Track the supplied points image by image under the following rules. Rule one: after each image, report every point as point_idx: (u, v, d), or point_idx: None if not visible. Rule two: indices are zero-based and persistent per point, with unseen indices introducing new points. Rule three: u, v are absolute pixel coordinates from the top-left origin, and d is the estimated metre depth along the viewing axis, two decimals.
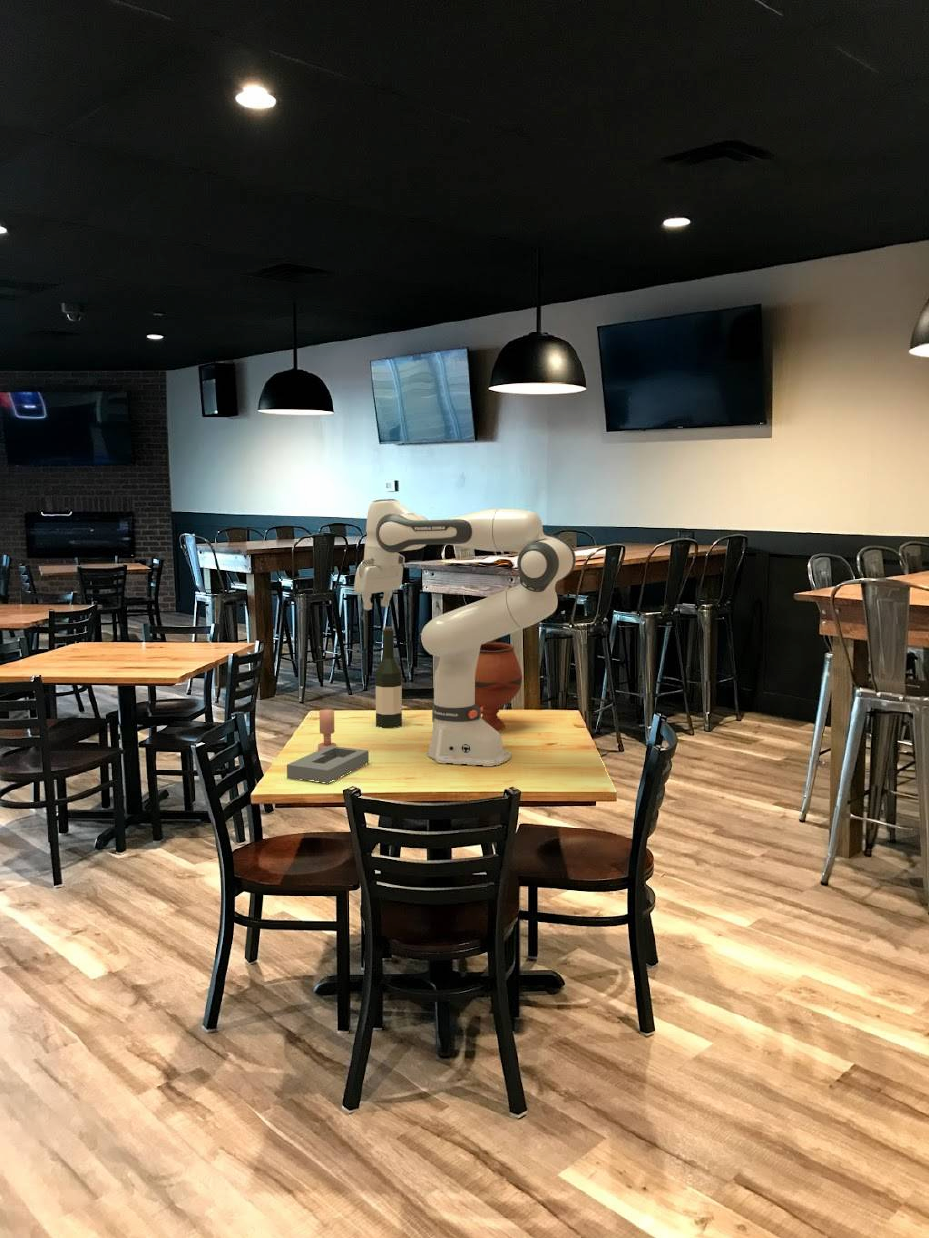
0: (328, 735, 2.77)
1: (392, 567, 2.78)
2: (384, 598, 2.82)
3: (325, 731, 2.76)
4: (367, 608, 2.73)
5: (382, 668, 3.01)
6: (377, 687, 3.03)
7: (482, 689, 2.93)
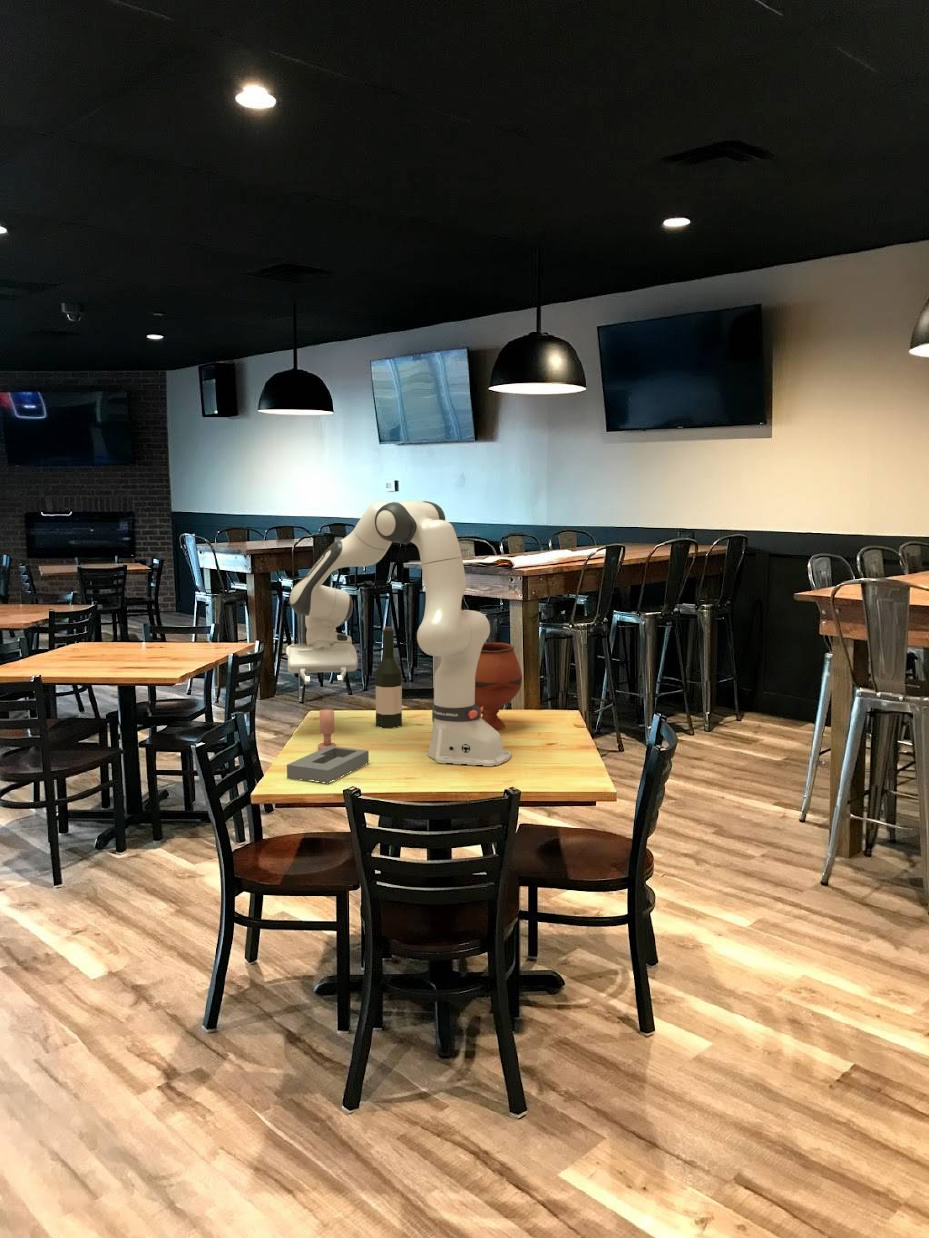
0: (328, 735, 2.77)
1: (333, 645, 2.93)
2: None
3: (325, 731, 2.76)
4: (304, 681, 2.87)
5: (382, 668, 3.01)
6: (377, 687, 3.03)
7: (482, 689, 2.93)
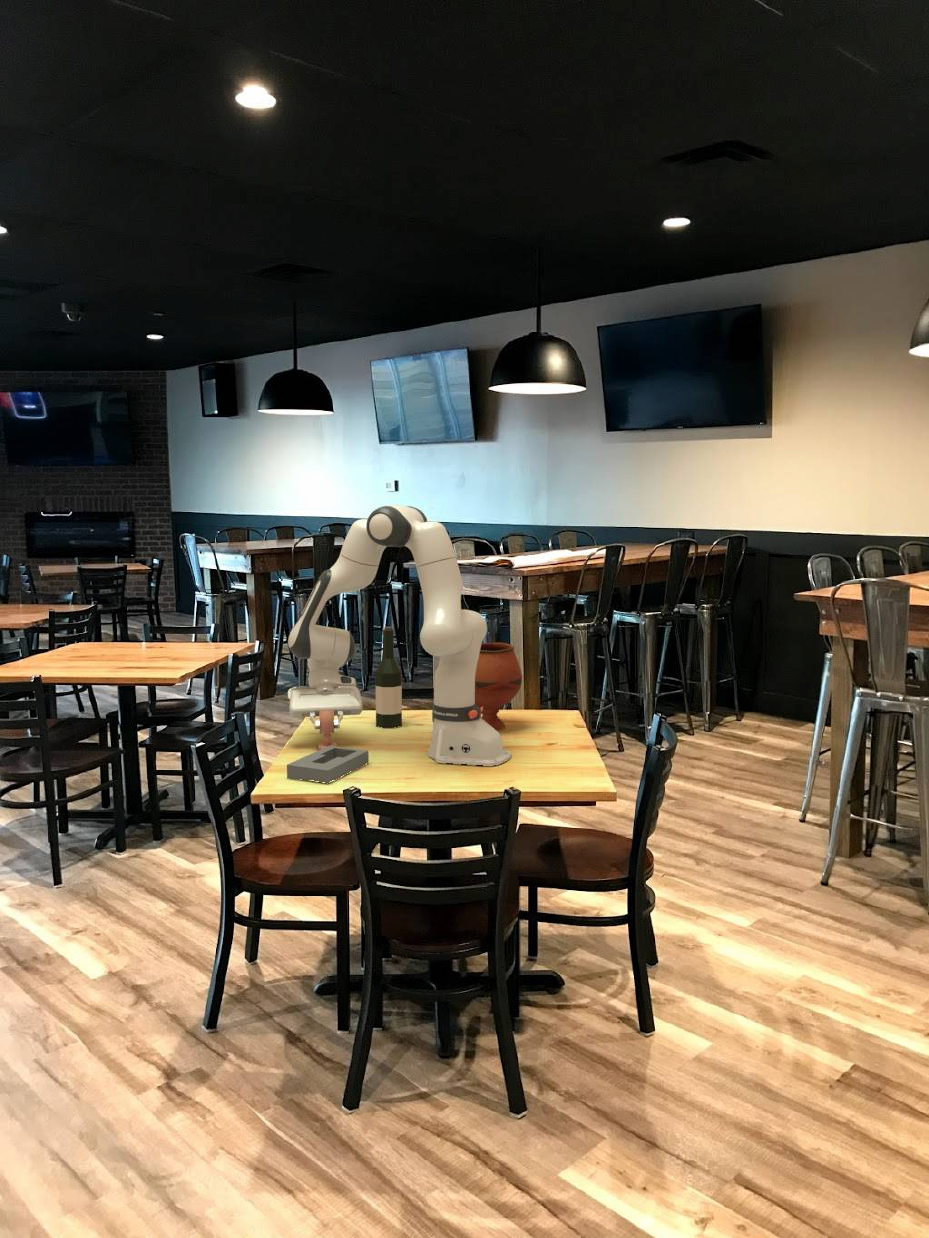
0: (328, 735, 2.77)
1: (336, 688, 2.82)
2: None
3: (325, 731, 2.76)
4: (314, 726, 2.76)
5: (382, 668, 3.01)
6: (377, 687, 3.03)
7: (482, 689, 2.93)
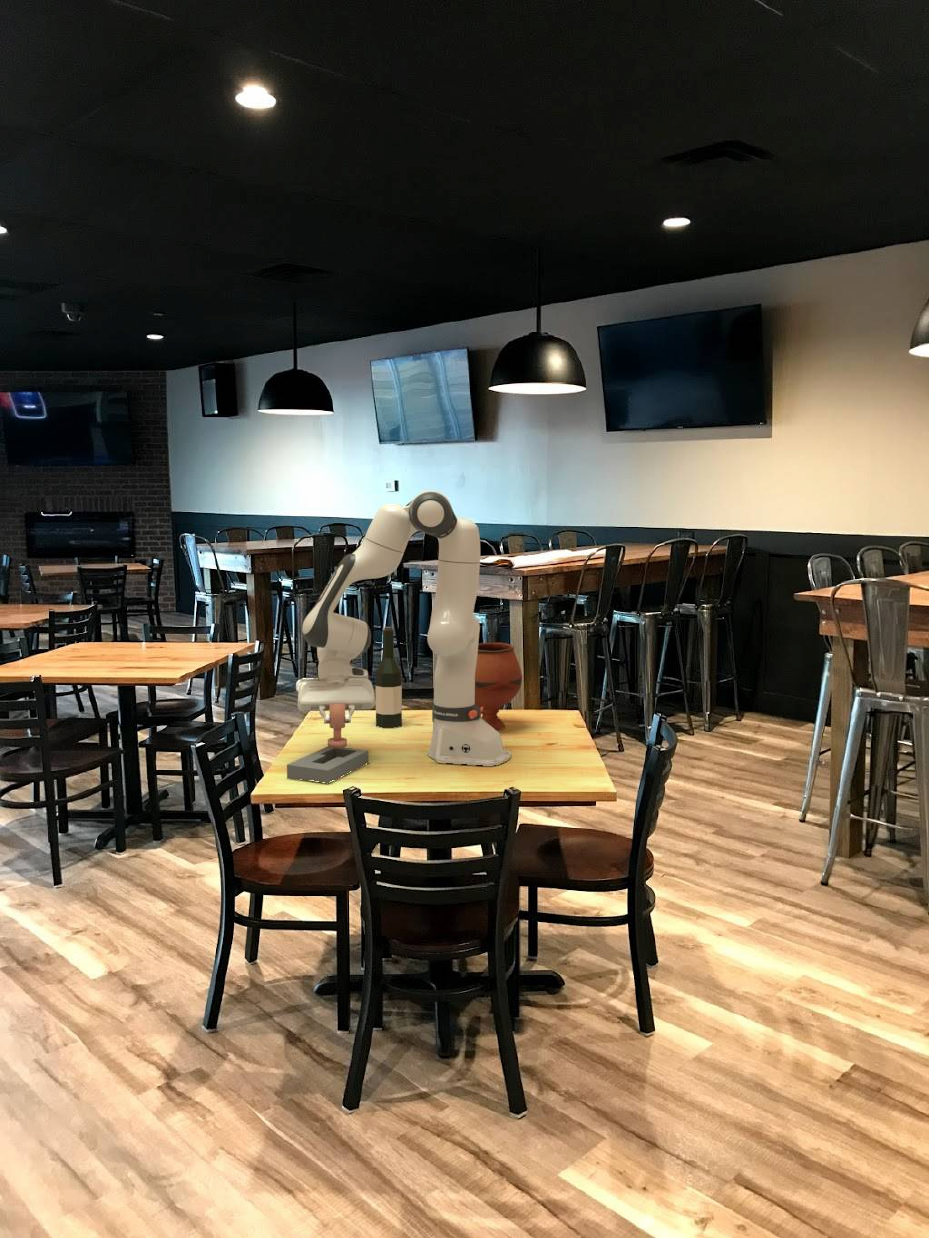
0: (338, 730, 2.61)
1: (348, 680, 2.66)
2: None
3: (335, 725, 2.60)
4: (324, 720, 2.60)
5: (382, 668, 3.01)
6: (377, 687, 3.03)
7: (482, 689, 2.93)
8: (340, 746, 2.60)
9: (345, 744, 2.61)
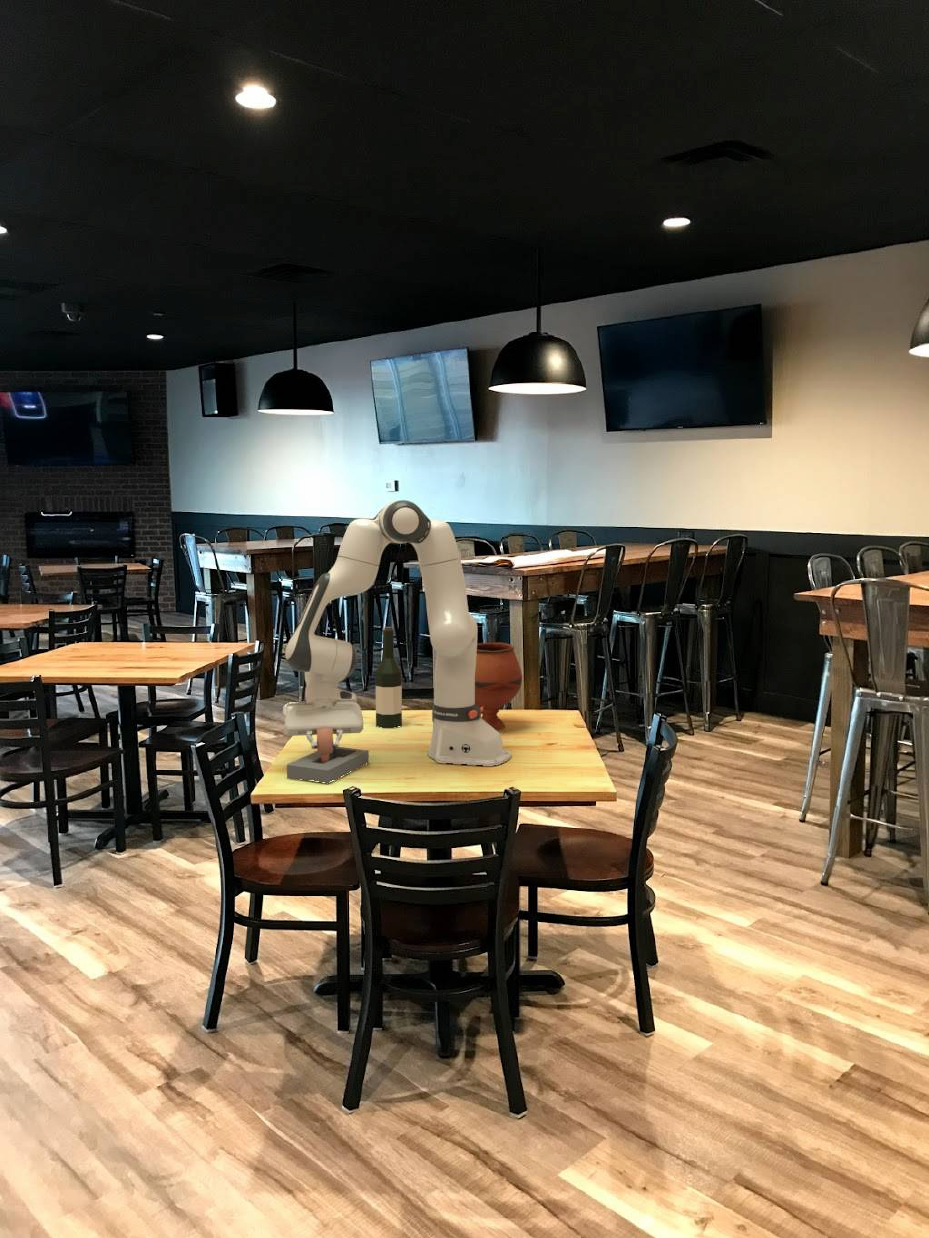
0: (326, 755, 2.56)
1: (335, 704, 2.61)
2: None
3: (323, 750, 2.55)
4: (311, 745, 2.55)
5: (382, 668, 3.01)
6: (377, 687, 3.03)
7: (482, 689, 2.93)
8: None
9: None
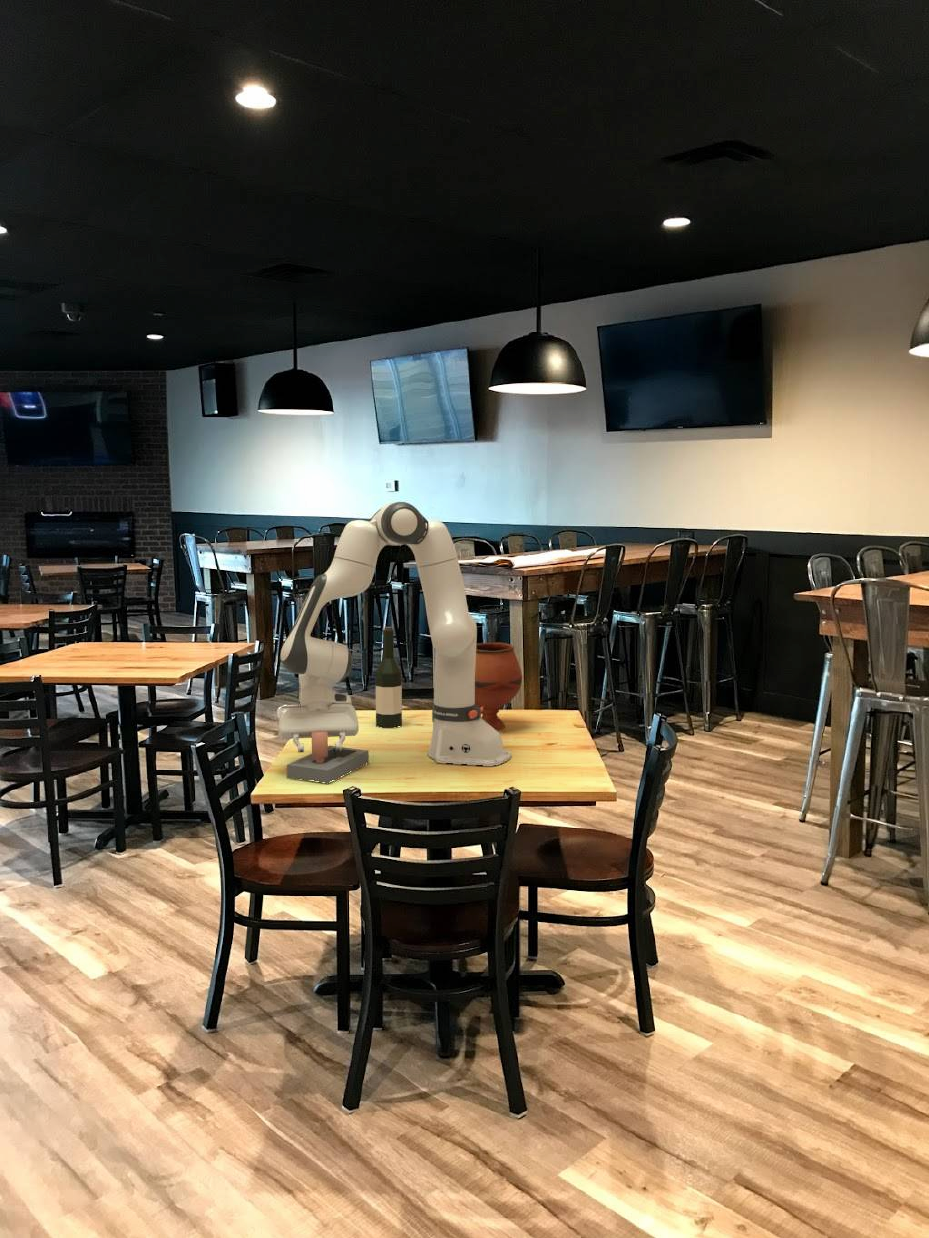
0: (321, 759, 2.53)
1: (330, 706, 2.59)
2: None
3: (317, 754, 2.52)
4: None
5: (382, 668, 3.01)
6: (377, 687, 3.03)
7: (482, 689, 2.93)
8: None
9: None
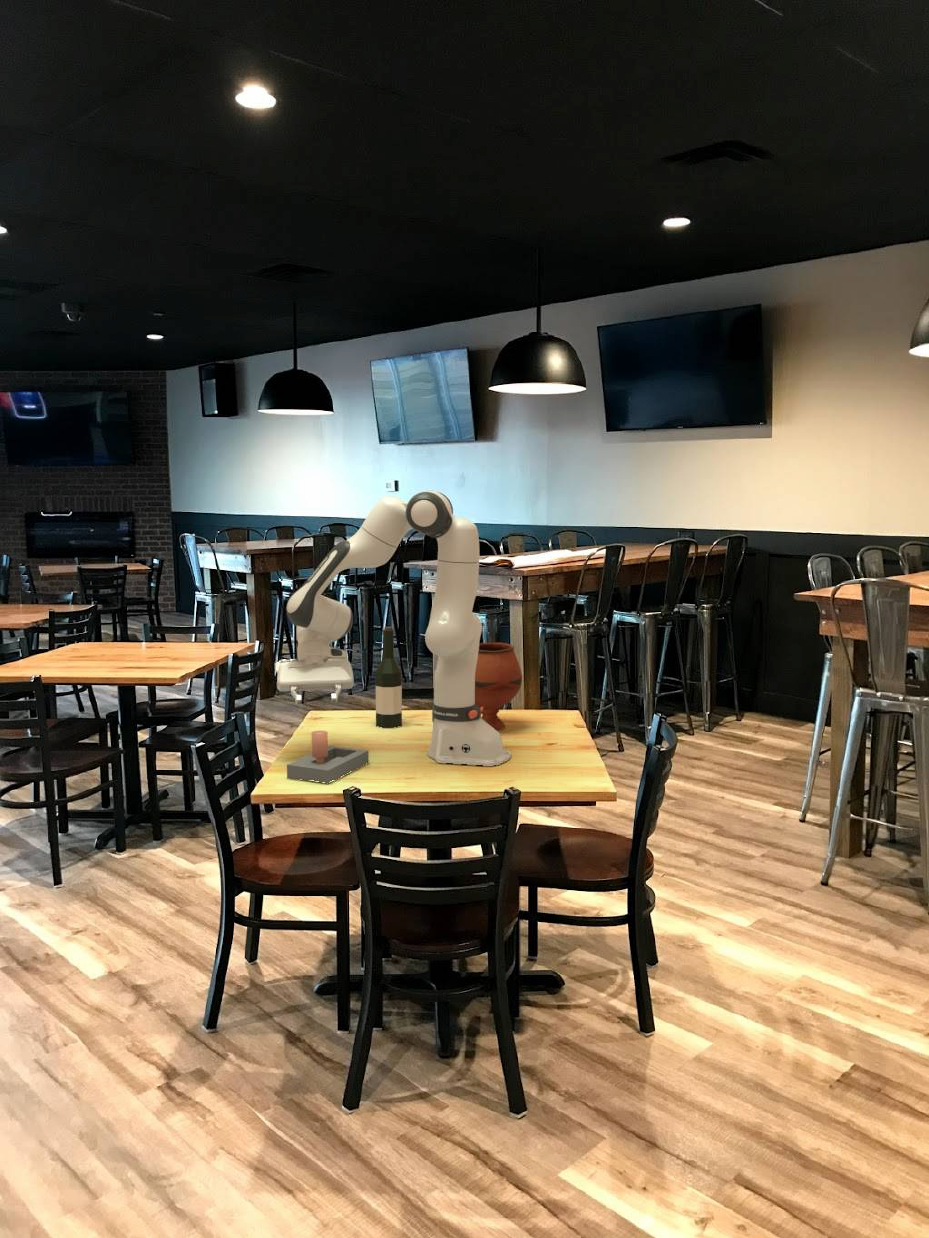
0: (321, 759, 2.53)
1: (326, 661, 2.70)
2: None
3: (317, 754, 2.52)
4: (295, 700, 2.63)
5: (382, 668, 3.01)
6: (377, 687, 3.03)
7: (482, 689, 2.93)
8: None
9: None
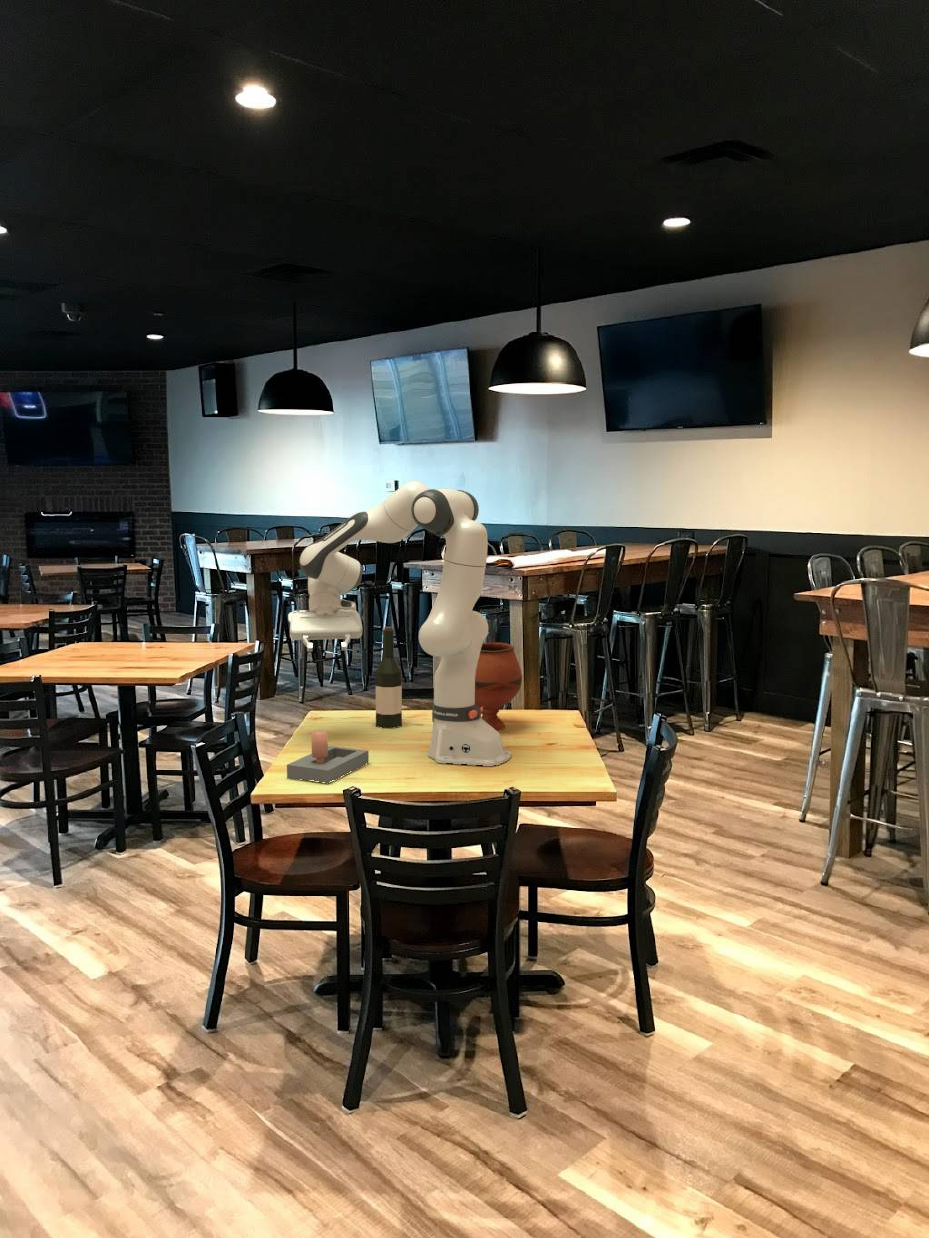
0: (321, 759, 2.53)
1: (336, 611, 2.84)
2: None
3: (317, 755, 2.52)
4: (307, 648, 2.77)
5: (382, 668, 3.01)
6: (377, 687, 3.03)
7: (482, 689, 2.93)
8: None
9: None
